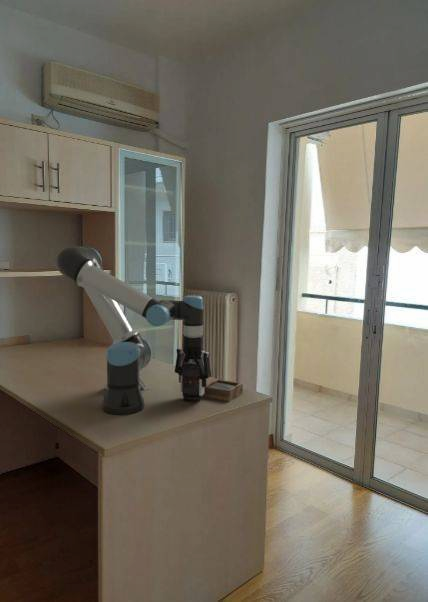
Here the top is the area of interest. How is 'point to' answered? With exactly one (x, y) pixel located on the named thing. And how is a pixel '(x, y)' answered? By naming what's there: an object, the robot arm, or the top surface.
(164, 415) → the top surface
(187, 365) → the camera lens
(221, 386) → the square wooden tray
